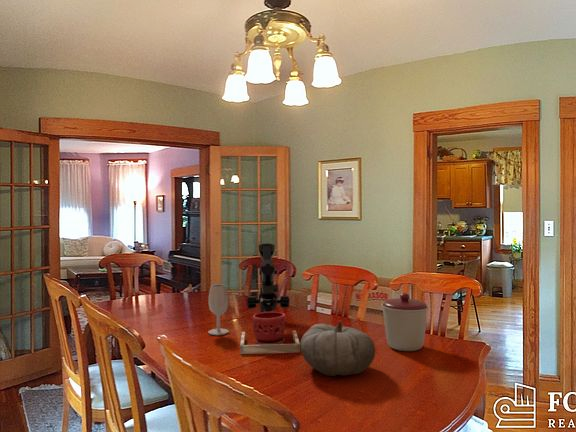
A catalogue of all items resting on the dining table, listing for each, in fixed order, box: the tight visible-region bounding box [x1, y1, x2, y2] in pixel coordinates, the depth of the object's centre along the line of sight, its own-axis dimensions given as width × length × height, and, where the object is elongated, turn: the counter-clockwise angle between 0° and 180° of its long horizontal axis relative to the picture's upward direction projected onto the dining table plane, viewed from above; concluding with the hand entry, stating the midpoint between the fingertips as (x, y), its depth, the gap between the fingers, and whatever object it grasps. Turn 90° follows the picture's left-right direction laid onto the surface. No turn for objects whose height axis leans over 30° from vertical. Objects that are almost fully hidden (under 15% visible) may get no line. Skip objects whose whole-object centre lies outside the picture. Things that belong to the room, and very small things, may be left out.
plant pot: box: [252, 311, 286, 345], centre depth 176 cm, size 13×13×12 cm
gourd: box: [300, 320, 376, 377], centre depth 148 cm, size 25×25×17 cm
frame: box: [239, 330, 301, 355], centre depth 175 cm, size 19×22×3 cm
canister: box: [380, 292, 430, 352], centre depth 171 cm, size 18×18×21 cm
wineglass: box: [207, 283, 230, 336], centre depth 193 cm, size 9×9×21 cm
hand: (268, 318), depth 191 cm, fingers closed
